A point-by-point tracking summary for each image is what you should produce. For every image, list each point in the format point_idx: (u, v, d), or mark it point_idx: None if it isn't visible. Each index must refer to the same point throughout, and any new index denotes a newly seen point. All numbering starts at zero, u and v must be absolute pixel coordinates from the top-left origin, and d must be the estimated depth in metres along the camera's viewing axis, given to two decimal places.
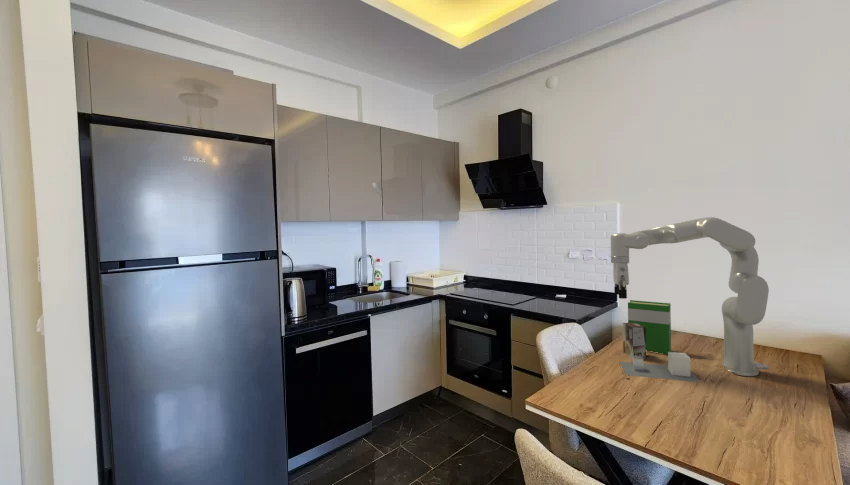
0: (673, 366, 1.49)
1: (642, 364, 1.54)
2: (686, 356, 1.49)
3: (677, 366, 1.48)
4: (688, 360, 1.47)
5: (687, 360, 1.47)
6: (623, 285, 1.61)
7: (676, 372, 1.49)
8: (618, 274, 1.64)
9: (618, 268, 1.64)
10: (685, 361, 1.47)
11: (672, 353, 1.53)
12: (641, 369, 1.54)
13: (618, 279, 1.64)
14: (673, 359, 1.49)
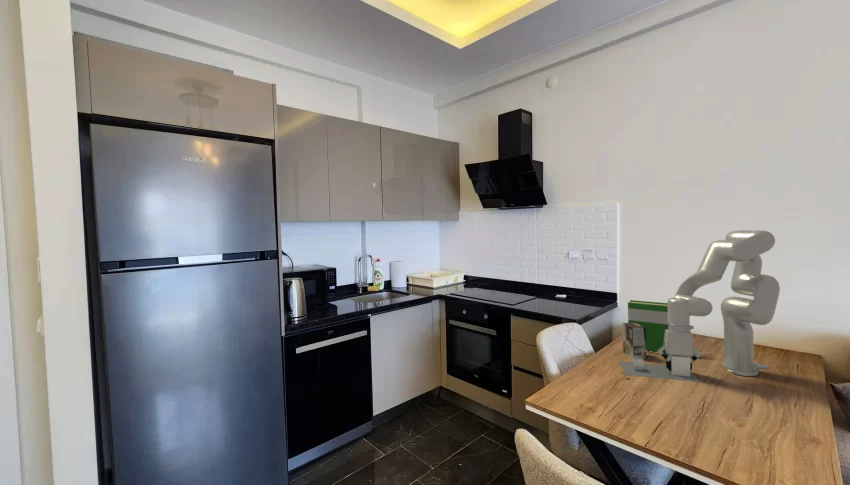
0: (673, 366, 1.49)
1: (642, 364, 1.54)
2: (686, 356, 1.49)
3: (677, 366, 1.48)
4: (688, 360, 1.47)
5: (687, 360, 1.47)
6: None
7: (676, 372, 1.49)
8: (693, 344, 1.47)
9: None
10: (685, 361, 1.47)
11: None
12: (641, 369, 1.54)
13: (694, 350, 1.47)
14: (673, 359, 1.49)
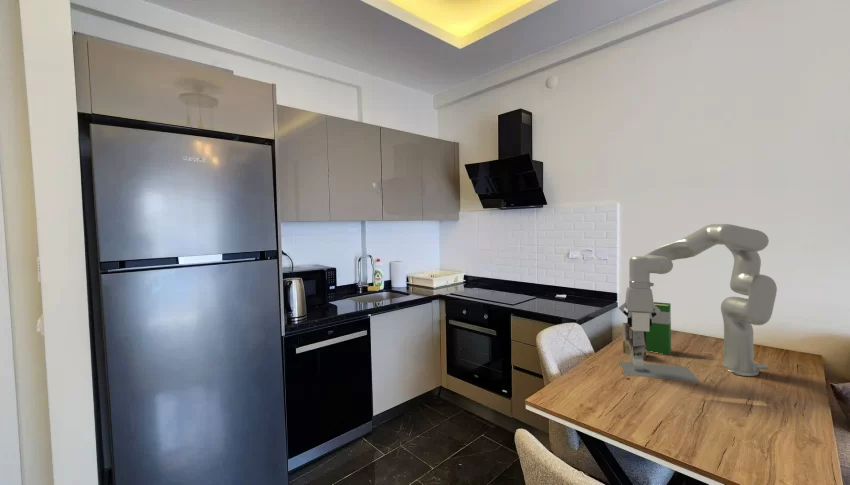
0: (633, 322, 1.53)
1: (642, 364, 1.54)
2: (646, 312, 1.53)
3: (637, 322, 1.53)
4: (647, 315, 1.51)
5: (646, 315, 1.51)
6: None
7: (636, 327, 1.53)
8: None
9: (651, 294, 1.52)
10: (644, 316, 1.52)
11: None
12: (641, 369, 1.54)
13: (653, 306, 1.52)
14: (633, 315, 1.53)
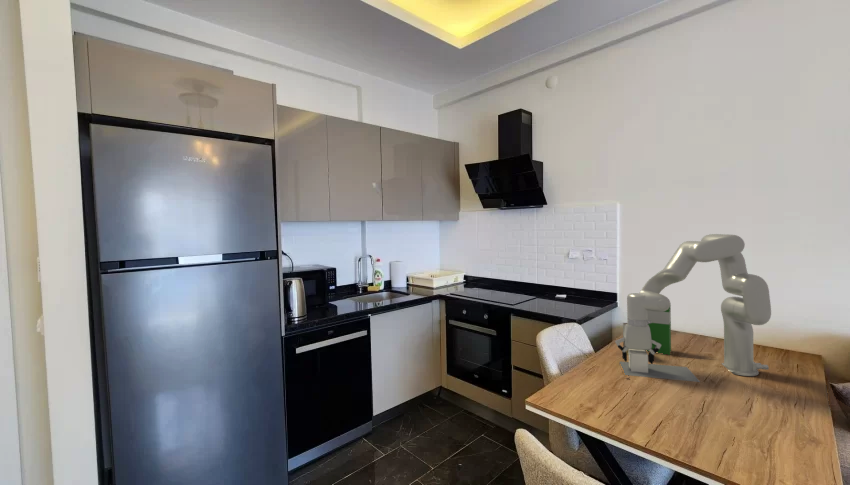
0: (632, 363, 1.54)
1: None
2: (644, 353, 1.54)
3: (636, 363, 1.54)
4: (646, 357, 1.52)
5: (645, 357, 1.52)
6: (658, 348, 1.53)
7: (635, 368, 1.54)
8: None
9: (649, 332, 1.53)
10: (643, 357, 1.52)
11: (632, 350, 1.58)
12: None
13: (651, 344, 1.53)
14: (632, 356, 1.54)
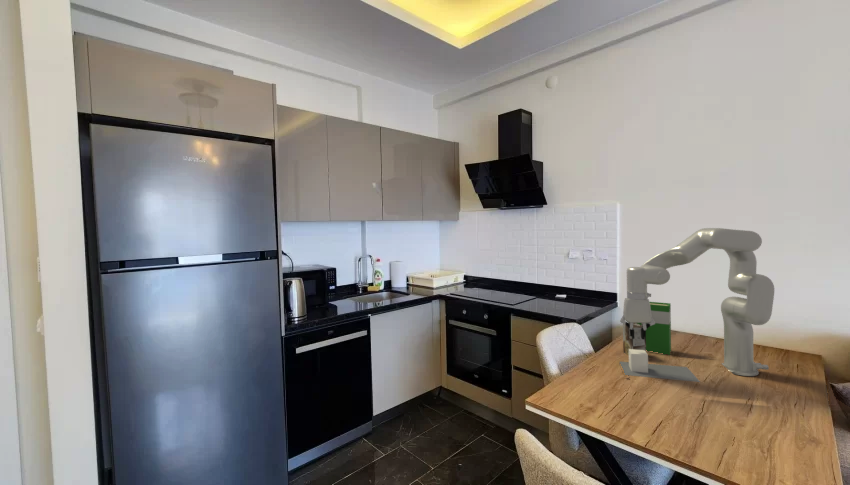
0: (632, 363, 1.54)
1: None
2: (644, 353, 1.54)
3: (636, 363, 1.54)
4: (646, 357, 1.52)
5: (645, 357, 1.52)
6: None
7: (635, 368, 1.54)
8: (650, 311, 1.52)
9: (649, 305, 1.52)
10: (643, 357, 1.52)
11: (632, 350, 1.58)
12: None
13: (651, 317, 1.52)
14: (632, 356, 1.54)
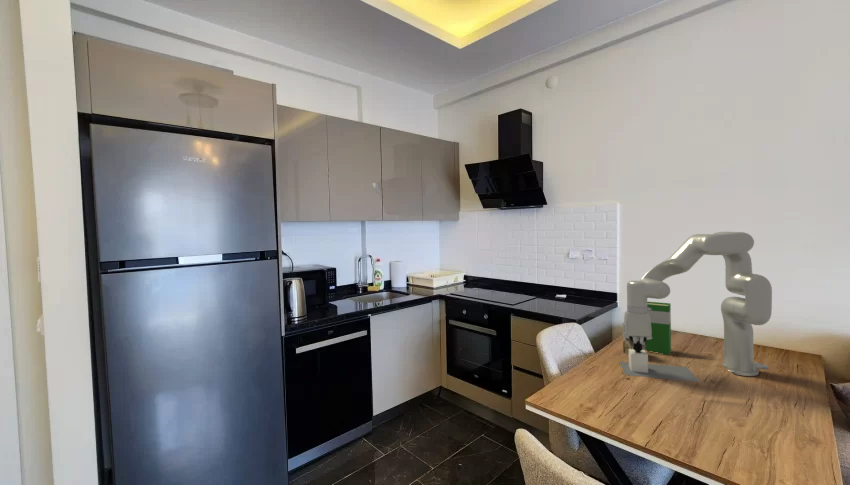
0: (632, 363, 1.54)
1: None
2: (644, 353, 1.54)
3: (636, 363, 1.54)
4: (646, 357, 1.52)
5: (645, 357, 1.52)
6: None
7: (635, 368, 1.54)
8: None
9: (649, 319, 1.53)
10: (643, 357, 1.52)
11: (632, 350, 1.58)
12: None
13: (651, 331, 1.52)
14: (632, 356, 1.54)
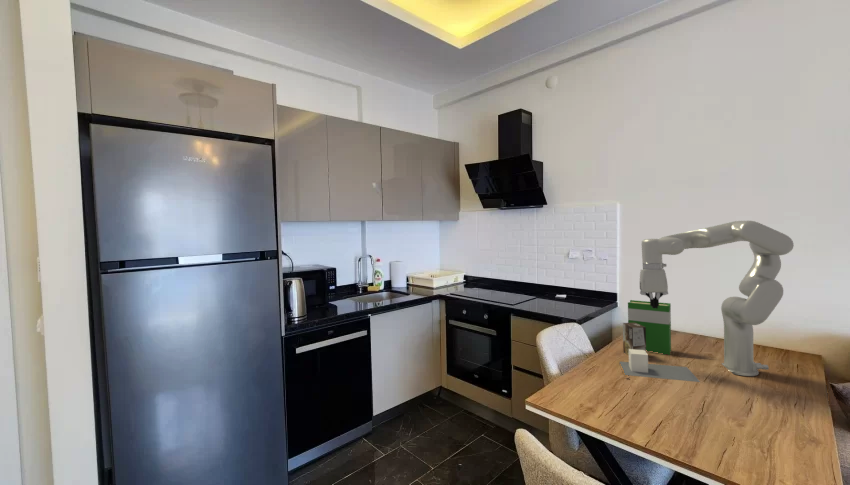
0: (632, 363, 1.54)
1: None
2: (644, 353, 1.54)
3: (636, 363, 1.54)
4: (646, 357, 1.52)
5: (645, 357, 1.52)
6: None
7: (635, 368, 1.54)
8: (666, 281, 1.57)
9: None
10: (643, 357, 1.52)
11: (632, 350, 1.58)
12: None
13: (667, 286, 1.57)
14: (632, 356, 1.54)
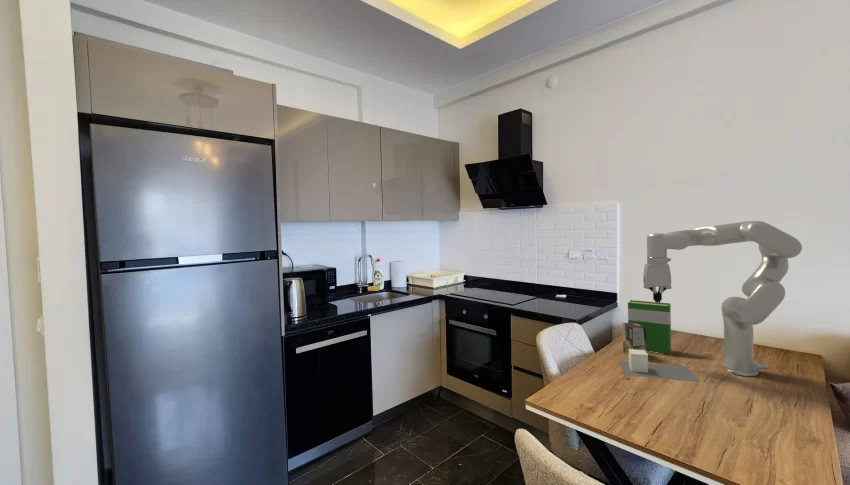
0: (632, 363, 1.54)
1: None
2: (644, 353, 1.54)
3: (636, 363, 1.54)
4: (646, 357, 1.52)
5: (645, 357, 1.52)
6: None
7: (635, 368, 1.54)
8: (670, 275, 1.58)
9: None
10: (643, 357, 1.52)
11: (632, 350, 1.58)
12: None
13: None
14: (632, 356, 1.54)
